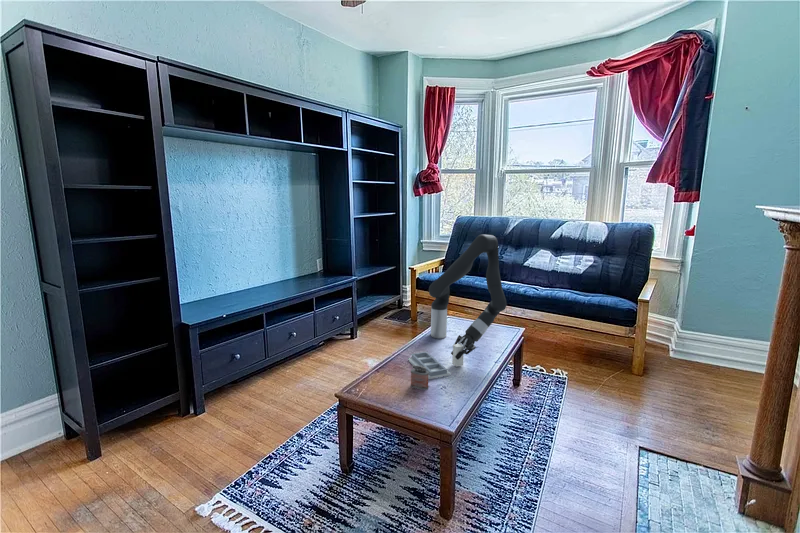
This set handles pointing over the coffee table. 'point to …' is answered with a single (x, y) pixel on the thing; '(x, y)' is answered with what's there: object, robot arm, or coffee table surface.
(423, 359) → the rack
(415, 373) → the lighter
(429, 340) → the coffee table surface
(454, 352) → the clay bar
